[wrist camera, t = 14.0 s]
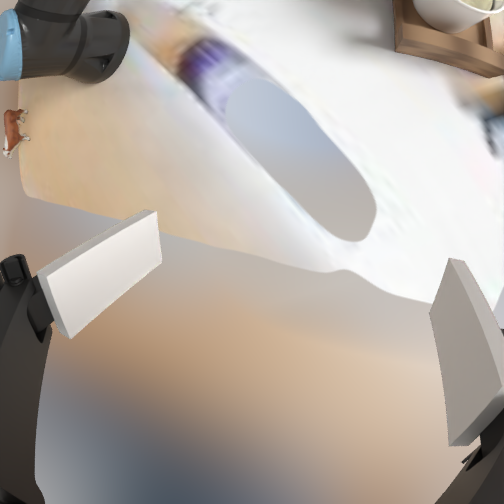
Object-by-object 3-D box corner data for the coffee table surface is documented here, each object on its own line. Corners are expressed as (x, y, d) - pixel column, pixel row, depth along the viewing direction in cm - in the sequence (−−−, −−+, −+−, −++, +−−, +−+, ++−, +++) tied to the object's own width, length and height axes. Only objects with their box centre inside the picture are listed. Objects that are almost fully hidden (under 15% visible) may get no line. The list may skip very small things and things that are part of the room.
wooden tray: (395, 51, 27) (402, 37, 21) (386, -44, 19) (388, -68, 13) (488, 78, 23) (511, 72, 17) (476, -19, 15) (491, -36, 9)
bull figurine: (25, 154, 58) (1, 161, 51) (22, 107, 51) (-2, 112, 45) (31, 153, 56) (7, 161, 49) (29, 104, 50) (4, 109, 43)
